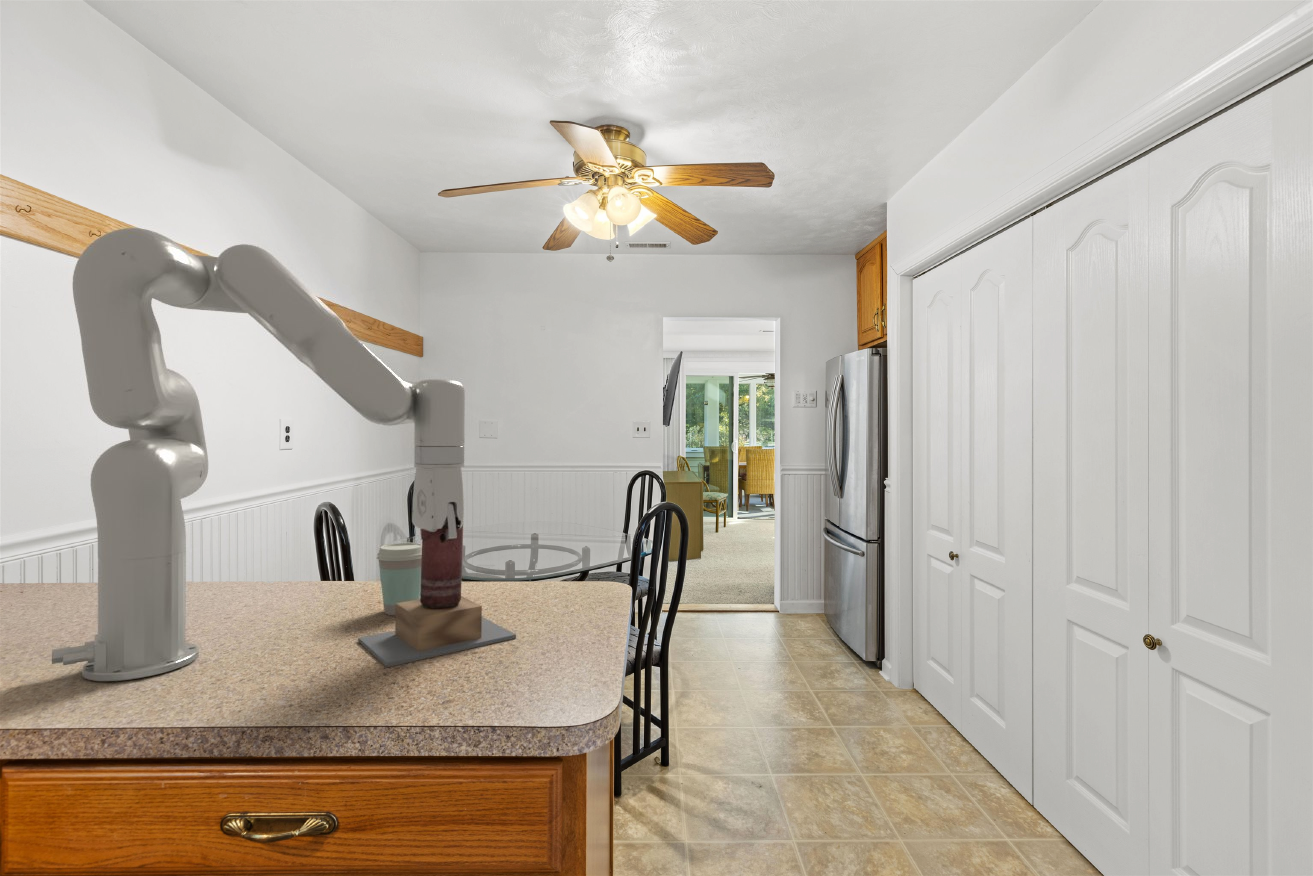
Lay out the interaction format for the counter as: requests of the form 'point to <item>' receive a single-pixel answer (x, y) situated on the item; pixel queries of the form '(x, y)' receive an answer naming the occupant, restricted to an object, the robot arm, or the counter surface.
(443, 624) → the block
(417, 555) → the coffee cup
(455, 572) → the can
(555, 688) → the counter surface
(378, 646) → the mat
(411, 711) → the counter surface
